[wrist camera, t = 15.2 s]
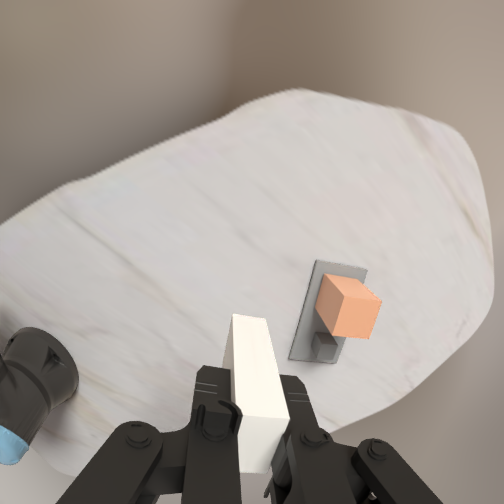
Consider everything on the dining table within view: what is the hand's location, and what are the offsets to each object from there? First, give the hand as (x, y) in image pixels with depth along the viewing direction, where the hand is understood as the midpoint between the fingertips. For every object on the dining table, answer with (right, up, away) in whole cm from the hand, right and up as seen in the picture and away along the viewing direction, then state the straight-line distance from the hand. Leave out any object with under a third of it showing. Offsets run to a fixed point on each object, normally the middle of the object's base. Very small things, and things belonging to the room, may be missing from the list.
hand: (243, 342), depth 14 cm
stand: (+12, -5, +32) cm, 35 cm away
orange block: (+12, -2, +31) cm, 33 cm away
